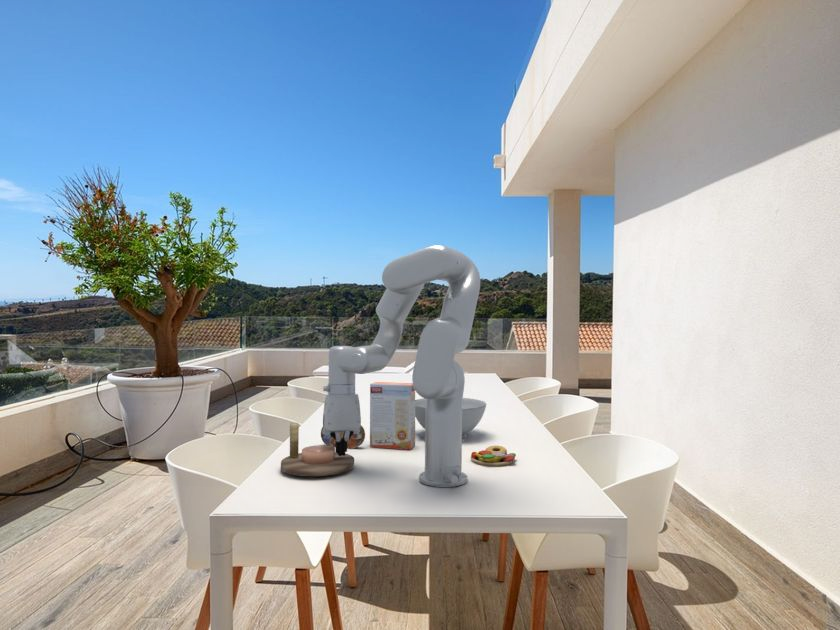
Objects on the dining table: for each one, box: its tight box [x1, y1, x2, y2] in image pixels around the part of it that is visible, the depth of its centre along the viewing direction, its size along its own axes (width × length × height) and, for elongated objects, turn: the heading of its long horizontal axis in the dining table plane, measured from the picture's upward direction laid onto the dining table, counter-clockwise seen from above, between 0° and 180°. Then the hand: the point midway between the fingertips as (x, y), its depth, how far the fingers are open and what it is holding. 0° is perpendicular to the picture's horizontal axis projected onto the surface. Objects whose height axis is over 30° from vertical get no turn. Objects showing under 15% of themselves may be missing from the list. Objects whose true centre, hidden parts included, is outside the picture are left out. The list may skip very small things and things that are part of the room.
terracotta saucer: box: [301, 444, 336, 464], centre depth 149 cm, size 9×9×3 cm
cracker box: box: [369, 381, 416, 451], centre depth 175 cm, size 14×6×21 cm, turn 75°
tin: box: [320, 425, 366, 450], centre depth 175 cm, size 15×3×8 cm, turn 72°
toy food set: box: [470, 445, 517, 467], centre depth 158 cm, size 13×13×3 cm
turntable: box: [280, 422, 355, 477], centre depth 148 cm, size 20×20×11 cm
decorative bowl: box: [415, 397, 487, 440], centre depth 191 cm, size 27×27×12 cm
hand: (341, 454), depth 151 cm, fingers closed
